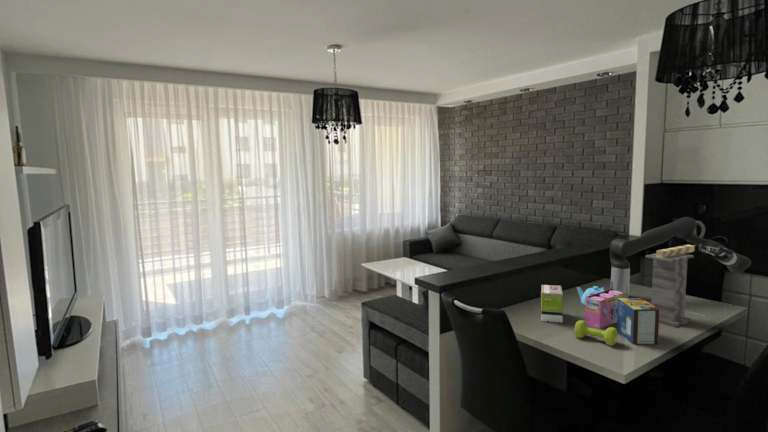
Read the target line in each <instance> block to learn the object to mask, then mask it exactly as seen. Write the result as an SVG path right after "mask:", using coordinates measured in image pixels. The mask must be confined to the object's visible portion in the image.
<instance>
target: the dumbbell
mask: <svg viewBox="0 0 768 432" xmlns="http://www.w3.org/2000/svg"><path fill="white" fill-rule="evenodd" d="M573 330H574V335H575V337H576V338H578V339H583V338H585V337H586V335H589V336H593V337H597V338H601V339H604V342H605V344H606V345H607V346H610V347H613V346H615V345H616V344H617V342H618V336H619V335H618V331H617V327H613V326H610V327H607V328H606V329H605V330H602V329H599V328H594V327H589V326H588V325H586V322H585V320H583V319H579V320H577V321H576V322H575V325H574V329H573Z"/></svg>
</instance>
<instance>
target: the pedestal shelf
mask: <svg viewBox="0 0 768 432" xmlns="http://www.w3.org/2000/svg"><path fill="white" fill-rule="evenodd" d="M644 257H645V258H647V259H652V281H651V300H650V301H651V302H650V304H652V305H653V306H655V307H657V308H658V309H660V310H659V324H662V325H666V326H668V327H671V328H676V327H680V326H682V325H685V324H688V323H692V318H690V317H687V316H685V308H686V294H687V275H688V259H693V258H694V257H695V256H694V255H693V254H689V253H685V254H680V255H675V256H670V257H665V258H660V257H656V253H655V252H654V253H651V254H646V255H645V256H644Z"/></svg>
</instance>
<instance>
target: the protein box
mask: <svg viewBox="0 0 768 432" xmlns="http://www.w3.org/2000/svg"><path fill="white" fill-rule="evenodd" d="M659 310H660V309H658V308H657V307H655V306H653V305H652V304H651V302H649V301H647V300H645V299H644V298H638V297H637V298H635V297H632V298H631V297H630V298H618V313H617V322H616V329H617V333H619V334H620V335H621V336H622V337H624V338H625V340H627V341H628V342H629V343H631V344H632V345H659V333H660V332H659V331H660V330H659V329H660V328H659V327H660V323H659Z"/></svg>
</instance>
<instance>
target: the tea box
mask: <svg viewBox="0 0 768 432" xmlns="http://www.w3.org/2000/svg"><path fill="white" fill-rule="evenodd" d="M540 289H541V291H540V310H541V311H540V313H541V314H540V319H541V322H547V321H549V322H550V323H559V322H560V323H563V322H564V294H563V289H562V285H556V284H555V285H553V284H552V285H551V284H550V285H549V284H541V288H540ZM549 322H548V323H549Z"/></svg>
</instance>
